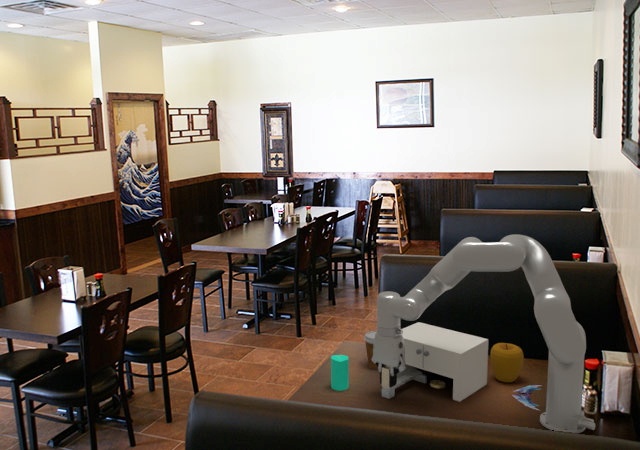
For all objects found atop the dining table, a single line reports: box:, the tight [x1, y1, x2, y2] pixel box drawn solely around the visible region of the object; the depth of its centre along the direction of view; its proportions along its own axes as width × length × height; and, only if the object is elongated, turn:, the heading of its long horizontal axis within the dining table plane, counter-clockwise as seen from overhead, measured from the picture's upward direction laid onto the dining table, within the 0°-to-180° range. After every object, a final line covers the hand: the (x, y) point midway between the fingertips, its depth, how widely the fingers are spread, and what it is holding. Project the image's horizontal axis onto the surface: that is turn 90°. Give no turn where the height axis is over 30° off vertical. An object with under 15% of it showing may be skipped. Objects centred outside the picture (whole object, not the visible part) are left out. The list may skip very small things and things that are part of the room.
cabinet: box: [397, 321, 489, 403], centre depth 206 cm, size 28×19×16 cm
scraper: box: [381, 365, 428, 400], centre depth 201 cm, size 19×7×10 cm, turn 137°
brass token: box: [429, 379, 446, 390], centre depth 204 cm, size 5×5×1 cm
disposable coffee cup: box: [363, 330, 378, 370], centre depth 220 cm, size 10×10×12 cm
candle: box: [330, 354, 350, 392], centre depth 202 cm, size 6×6×12 cm
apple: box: [489, 342, 525, 383], centre depth 207 cm, size 11×11×13 cm
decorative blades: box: [511, 384, 543, 411], centre depth 195 cm, size 20×1×10 cm
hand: (388, 383), depth 195 cm, fingers closed on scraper, 3 cm apart
